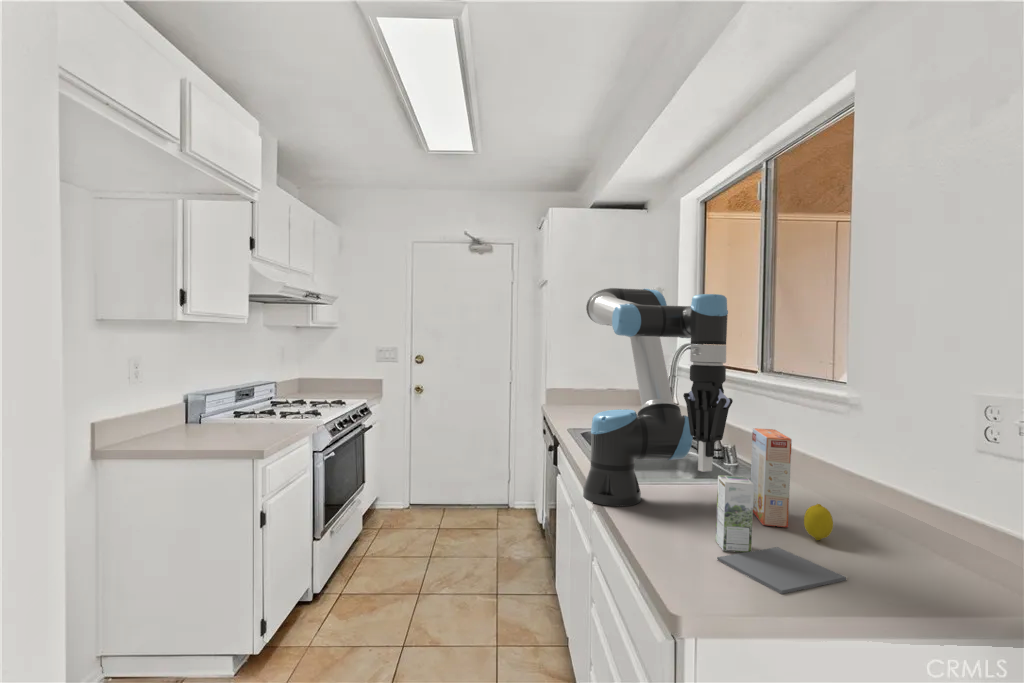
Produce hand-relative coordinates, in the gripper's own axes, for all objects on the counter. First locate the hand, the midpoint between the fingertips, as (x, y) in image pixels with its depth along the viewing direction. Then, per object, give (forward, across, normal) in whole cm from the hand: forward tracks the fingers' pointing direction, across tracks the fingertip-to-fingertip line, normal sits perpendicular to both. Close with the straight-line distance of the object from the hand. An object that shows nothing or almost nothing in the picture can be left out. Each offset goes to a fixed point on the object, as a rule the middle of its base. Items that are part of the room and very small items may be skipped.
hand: (705, 470), depth 123 cm
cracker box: (+14, -3, +23) cm, 27 cm away
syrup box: (+14, +9, 0) cm, 17 cm away
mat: (+14, +20, 0) cm, 25 cm away
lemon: (+14, +12, +21) cm, 28 cm away
